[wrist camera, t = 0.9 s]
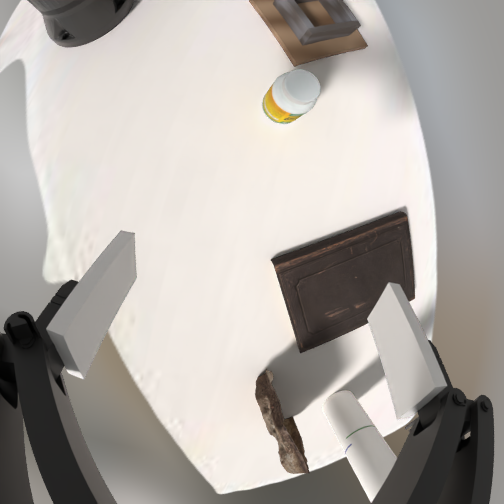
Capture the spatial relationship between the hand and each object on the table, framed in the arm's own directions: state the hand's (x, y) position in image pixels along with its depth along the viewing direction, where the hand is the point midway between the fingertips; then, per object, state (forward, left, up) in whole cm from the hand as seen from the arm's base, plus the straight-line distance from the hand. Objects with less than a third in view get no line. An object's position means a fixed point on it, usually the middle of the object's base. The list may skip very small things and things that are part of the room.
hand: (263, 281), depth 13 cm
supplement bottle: (-10, +13, -24) cm, 30 cm away
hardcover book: (+18, +12, -25) cm, 33 cm away
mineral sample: (+32, -9, -24) cm, 41 cm away
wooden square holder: (-22, +25, -24) cm, 42 cm away
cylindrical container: (+43, +1, -24) cm, 49 cm away
